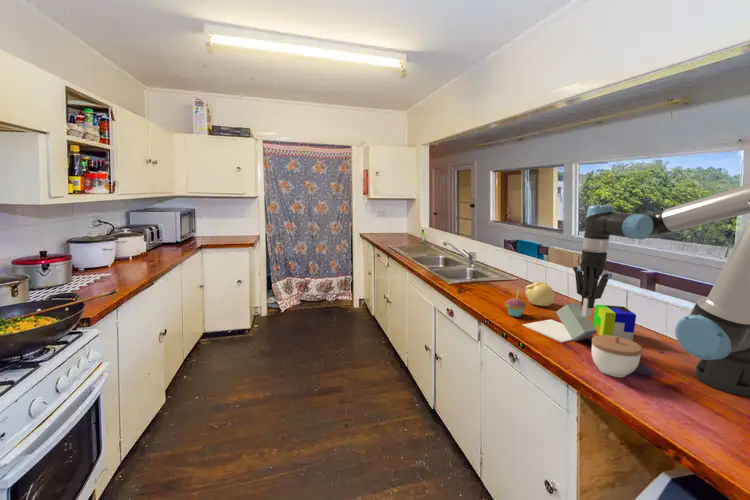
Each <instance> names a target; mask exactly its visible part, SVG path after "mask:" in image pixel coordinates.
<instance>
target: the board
mask: <svg viewBox="0 0 750 500" xmlns="http://www.w3.org/2000/svg"><path fill="white" fill-rule="evenodd" d="M522 325H523V326H522V327H524V326H525V327H524V328H527V329H530V330H532V331H534V332H536V333H538V334H541V335H543V336H545V337H548V338H550V339H552V340H555V341H558V342H560V343H566V342H572V341H573V339H572V338H571V336H570V334H569V333H568V331H567V329H566V328H565V326H564V325H563V323H562V322H559V321H556V320H554V319H552V318H551V319H546V320H541V321H534V322H533V321H532V322H529V323H524V324H522Z"/></svg>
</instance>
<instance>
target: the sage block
mask: <svg viewBox="0 0 750 500" xmlns="http://www.w3.org/2000/svg"><path fill="white" fill-rule="evenodd" d="M582 308H583V307H582V306H581V304H580V303H579V302H572V303H567V304H565V305H564V306H563V307H561V308H559V309H558V310H557V311H555V314H556V315H557V316H558V318H559V320H560V321H561V323H562V324H563V325H564V326H565V328H566V329H567V331H568V333H569V334H570V336H571V338H572V339H573V340H572V341H573V342H579V341H585V340H587V339H588V338H589V337H592V336H594V335H595V334H598V333H597V331H596V329H595V328H594V326H593V323H592V322H591V320H590V318H589V316H588V317H584V316H582Z"/></svg>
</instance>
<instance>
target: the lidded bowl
mask: <svg viewBox="0 0 750 500" xmlns="http://www.w3.org/2000/svg"><path fill="white" fill-rule="evenodd" d="M590 352H591V358H592V361H593V362H594V364H595V366H596V367H597V368H598V370H599V371H600V372H601V373H603V374H605V375H607V376H609V377H614V378H625V377H627V375H630V374H631V373H633V372H634V371H635V370H636V369H637V368H638V366H639V364H640V360H641V355H642V353H643V348H642V346H641V345H640V344H639V343H637V342H635V341H631V340H628V339H625V338H621V337H619V336H611V335H599V334H598V335H595V336H594V335H593V337H592V338H591V351H590Z"/></svg>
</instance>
